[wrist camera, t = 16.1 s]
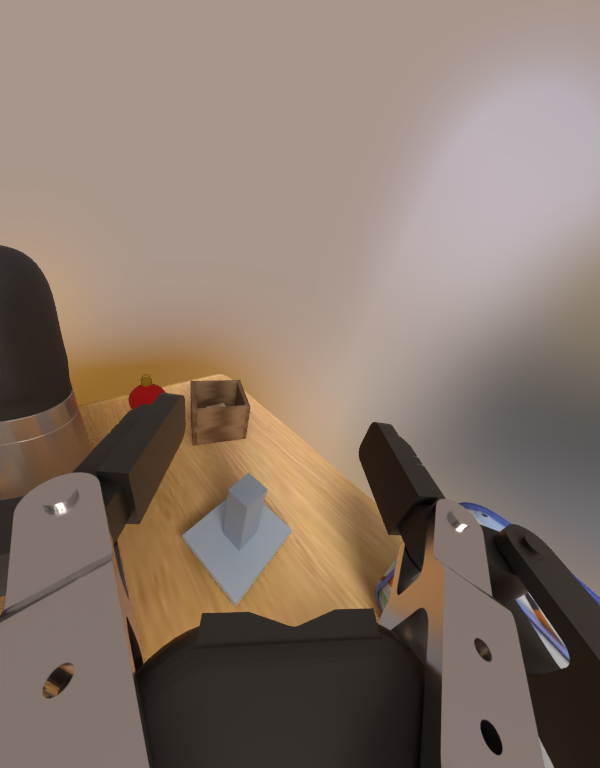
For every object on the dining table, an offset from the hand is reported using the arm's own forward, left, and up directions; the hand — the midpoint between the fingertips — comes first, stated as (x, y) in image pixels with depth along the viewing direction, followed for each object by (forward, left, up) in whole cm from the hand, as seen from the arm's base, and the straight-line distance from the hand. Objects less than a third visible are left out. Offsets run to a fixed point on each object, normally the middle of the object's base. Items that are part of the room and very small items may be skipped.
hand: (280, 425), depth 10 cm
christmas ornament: (-11, +43, -32) cm, 55 cm away
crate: (+3, +36, -32) cm, 48 cm away
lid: (+3, +10, -32) cm, 34 cm away
